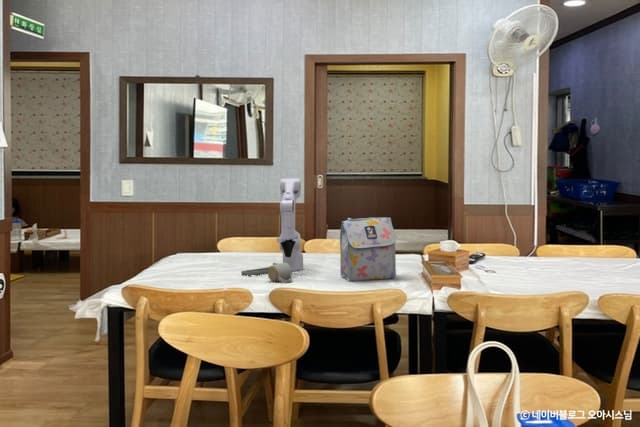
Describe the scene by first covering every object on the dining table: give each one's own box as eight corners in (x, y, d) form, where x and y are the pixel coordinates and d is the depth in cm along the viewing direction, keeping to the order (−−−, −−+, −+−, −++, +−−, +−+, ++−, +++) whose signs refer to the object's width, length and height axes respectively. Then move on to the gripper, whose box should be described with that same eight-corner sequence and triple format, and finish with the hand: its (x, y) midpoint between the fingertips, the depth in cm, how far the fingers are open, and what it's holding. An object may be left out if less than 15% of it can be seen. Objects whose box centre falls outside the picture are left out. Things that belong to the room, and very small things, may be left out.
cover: (267, 267, 328) (267, 262, 328) (276, 266, 330) (276, 261, 330) (280, 272, 314) (280, 267, 314) (290, 271, 316) (290, 266, 316)
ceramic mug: (266, 281, 303) (266, 263, 303) (281, 278, 309) (281, 261, 308) (281, 284, 296) (281, 266, 295) (296, 282, 301) (296, 264, 300)
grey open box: (270, 270, 331) (270, 266, 331) (278, 272, 327) (278, 268, 327) (241, 274, 320) (241, 271, 320) (249, 276, 315) (249, 272, 315)
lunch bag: (348, 283, 297) (348, 220, 295) (337, 276, 313) (336, 217, 311) (398, 280, 303) (398, 218, 301) (384, 274, 319) (384, 215, 317)
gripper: (289, 224, 324) (289, 254, 325) (271, 227, 312) (271, 258, 313) (302, 225, 321) (302, 255, 322) (284, 228, 308) (284, 259, 309)
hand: (288, 256), depth 317 cm, fingers closed
